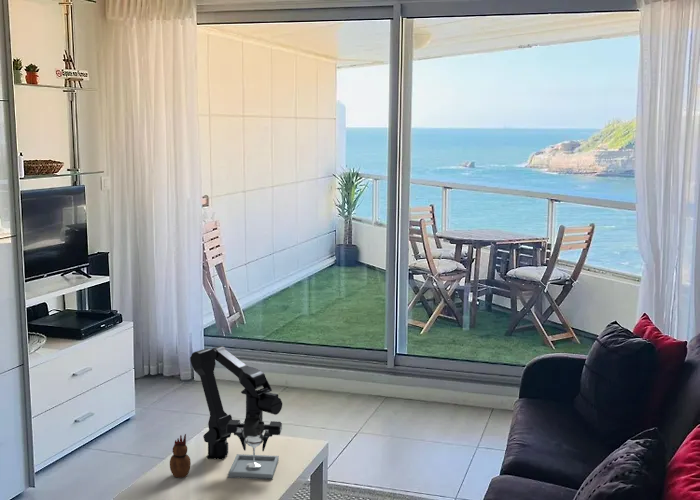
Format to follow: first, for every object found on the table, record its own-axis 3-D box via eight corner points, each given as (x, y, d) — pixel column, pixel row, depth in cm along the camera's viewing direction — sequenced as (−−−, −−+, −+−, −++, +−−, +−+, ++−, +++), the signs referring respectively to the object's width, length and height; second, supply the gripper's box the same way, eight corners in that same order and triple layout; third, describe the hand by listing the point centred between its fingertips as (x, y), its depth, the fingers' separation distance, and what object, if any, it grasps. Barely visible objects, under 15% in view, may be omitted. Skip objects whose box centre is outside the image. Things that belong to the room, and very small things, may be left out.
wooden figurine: (193, 473, 261) (193, 432, 259) (184, 481, 256) (184, 438, 254) (176, 470, 264) (175, 429, 261) (167, 477, 258) (166, 435, 256)
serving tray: (228, 477, 259) (228, 472, 259) (237, 458, 274) (237, 454, 274) (272, 479, 258) (272, 474, 258) (278, 460, 273) (278, 455, 273)
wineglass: (250, 459, 270) (250, 427, 268) (267, 462, 268) (267, 430, 266) (240, 466, 264) (240, 433, 262) (258, 470, 262) (258, 437, 260)
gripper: (222, 415, 255) (222, 459, 258) (277, 417, 254) (277, 461, 257) (229, 403, 266) (229, 445, 269) (282, 405, 265) (281, 448, 268)
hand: (254, 450), depth 265 cm, fingers closed on wineglass, 6 cm apart
